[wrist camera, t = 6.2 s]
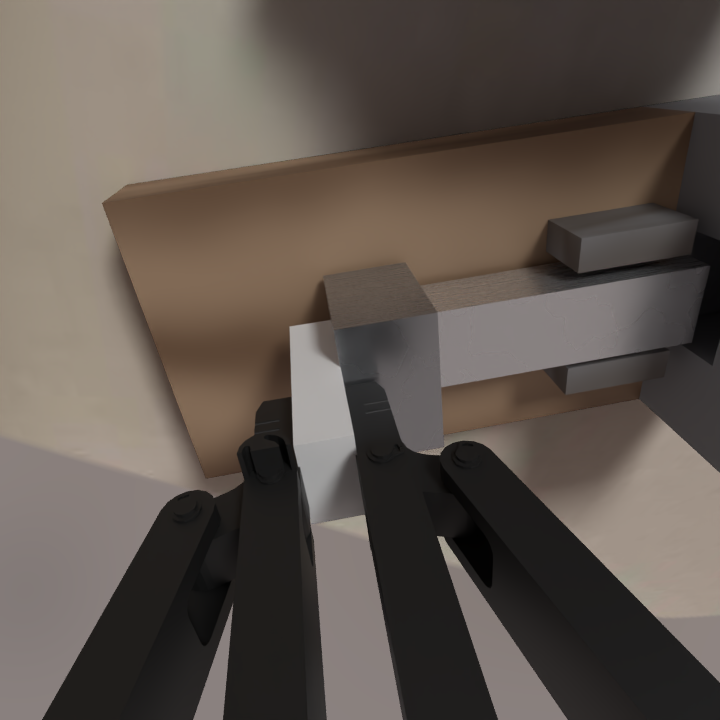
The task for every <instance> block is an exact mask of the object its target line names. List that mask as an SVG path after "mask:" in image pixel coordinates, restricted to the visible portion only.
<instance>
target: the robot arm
mask: <svg viewBox="0 0 720 720" xmlns="http://www.w3.org/2000/svg"><path fill="white" fill-rule="evenodd" d="M290 358H291V389H292V397H286V398H280V399H275V400H269V401H263V402H262V404H261V405H260V407H259V408H258V410H257V411H256V415H255V428H254V436H252V437H250V438H249V439H247V440H245V441H244V442H243V443H242V444H241V445H240V446H239V449H238V451H237V457H238V460H239V464H240V467H241V470H242V473H243V476H244V482H243V483H242V484H240V485H239V486H238V487H236V488H235V489H233V490H231V491H229V492H227V493H225V494H223V495H220V496H218V497H216V498H213V496H212V495H211V494H209V493H208V492H206V491H200V490H194V491H188V492H185V493H182V494H180V495H178V496H176V497H174V498H173V499H172V500H170V501H169V502H167V504H166V505H165V506H164V507H163V509H162V510H161V511H160V513H159V515H158V516H157V518H156V520H155V522H154V524H153V525H152V527H151V529H150V531H149V532H148V534H147V536H146V538H145V539H144V541H143V543H142V545H141V547H140V548H139V550H138V552H137V554H136V555H135V557H134V559H133V560H132V562H131V564H130V566H129V568H128V569H127V571H126V573H125V575H124V576H123V578H122V580H121V582H120V583H119V585H118V587H117V589H116V590H115V592H114V594H113V596H112V597H111V599H110V602H109V603H108V605H107V606H106V608H105V610H104V612H103V613H102V616H101V617H100V619H99V620H98V622H97V624H96V626H95V628H94V629H93V631H92V633H91V635H90V637H89V638H88V640H87V642H86V643H85V645H84V647H83V649H82V651H81V652H80V654H79V656H78V657H77V659H76V661H75V663H74V665H73V666H72V668H71V670H70V672H69V674H68V675H67V677H66V679H65V681H64V682H63V684H62V686H61V687H60V689H59V691H58V693H57V694H56V696H55V698H54V700H53V701H52V703H51V705H50V707H49V709H48V710H47V712H46V714H45V716H44V717H43V719H42V720H193V718H194V715H195V712H196V710H197V706H198V704H199V701H200V698H201V695H202V692H203V688H204V686H205V683H206V680H207V677H208V674H209V671H210V668H211V666H212V663H213V660H214V657H215V654H216V651H217V648H218V645H219V642H220V639H221V636H222V633H223V630H224V627H225V625H226V621H227V619H228V616H229V613H230V610H231V607H232V604H233V613H232V624H231V636H230V648H229V659H228V671H227V681H226V693H225V704H224V715H223V720H327V719H326V705H325V691H324V677H323V663H322V648H321V634H320V620H319V609H318V608H319V606H318V593H317V579H316V565H315V551H314V539H313V535H312V531H311V525H310V519H311V524H316V523H321V522H327V521H332V520H338V519H343V518H348V517H354V516H359V515H365V516H366V522H367V529H368V535H369V542H370V548H371V550H372V556H373V561H374V566H375V572H376V577H377V582H378V588H379V593H380V599H381V604H382V610H383V615H384V620H385V626H386V631H387V636H388V642H389V647H390V653H391V658H392V663H393V669H394V674H395V680H396V685H397V690H398V695H399V701H400V707H401V712H402V717H403V720H498V718H497V715H496V712H495V709H494V706H493V703H492V701H491V697H490V694H489V691H488V688H487V685H486V682H485V679H484V676H483V673H482V670H481V667H480V664H479V661H478V658H477V655H476V653H475V649H474V646H473V643H472V640H471V637H470V634H469V631H468V628H467V625H466V622H465V619H464V616H463V613H462V611H461V607H460V605H459V601H458V598H457V595H456V593H455V589H454V586H453V583H452V580H451V577H450V574H449V571H448V568H447V565H446V562H445V559H444V556H443V553H442V550H441V547H440V544H439V541H438V538H437V536H443V537H444V538H445V540H446V542H447V544H448V545H449V547H450V548H451V550H452V551H453V553H454V554H455V555H456V557H457V558H458V560H459V561H460V563H461V564H462V566H463V567H464V569H465V570H466V572H467V573H468V574H469V576H470V577H471V579H472V580H473V582H474V583H475V585H476V586H477V588H478V589H479V591H480V592H481V594H482V595H483V596H484V598H485V599H486V601H487V602H488V603H489V605H490V607H491V608H492V610H493V611H494V612H495V614H496V615H497V617H498V618H499V620H500V621H501V623H502V624H503V626H504V627H505V629H506V630H507V631H508V633H509V634H510V636H511V637H512V639H513V640H514V642H515V643H516V645H517V646H518V647H519V649H520V650H521V652H522V653H523V655H524V656H525V658H526V659H527V661H528V662H529V664H530V665H531V667H532V668H533V670H534V671H535V672H536V674H537V675H538V677H539V678H540V680H541V681H542V683H543V684H544V686H545V687H546V689H547V690H548V691H549V693H550V694H551V696H552V697H553V699H554V700H555V702H556V703H557V704H558V706H559V707H560V709H561V710H562V712H563V713H564V715H565V716H566V718H567V719H568V720H720V683H719V681H717V680H716V678H715V677H714V676H713V675H712V674H711V673H710V672H709V671H708V670H707V669H706V668H705V667H704V666H703V665H702V664H701V663H700V662H699V661H698V660H697V659H696V658H695V657H694V656H693V655H692V654H691V653H690V652H689V651H688V650H687V649H686V648H685V647H684V646H683V645H682V644H681V643H680V642H679V641H678V640H677V639H676V638H675V637H674V636H673V635H672V634H671V633H670V632H669V631H668V630H667V629H666V628H665V627H664V626H663V625H662V624H661V622H660V621H659V620H658V619H657V618H656V617H655V616H654V615H653V614H652V613H651V612H650V611H649V610H648V609H647V608H646V607H645V606H644V605H643V604H642V603H641V602H640V601H639V600H638V599H637V598H636V597H635V596H634V595H633V594H632V593H631V592H630V591H629V590H628V589H627V588H626V587H625V586H624V585H623V584H622V583H621V582H620V581H619V580H618V579H617V578H616V577H615V576H614V575H613V574H612V573H611V572H610V571H609V570H608V569H607V568H606V567H605V566H604V565H603V563H602V562H601V561H600V560H599V559H598V558H597V557H596V556H595V555H594V554H593V553H592V552H591V551H590V550H589V549H588V548H587V547H586V546H585V545H584V544H583V543H582V542H581V541H580V540H579V539H578V538H577V537H576V536H575V535H574V534H573V533H572V532H571V531H570V530H569V529H568V528H567V527H566V526H565V525H564V524H563V523H562V522H561V521H560V520H559V519H558V518H557V517H556V516H555V515H554V514H553V513H552V512H551V511H550V510H549V509H548V508H547V507H546V506H545V504H544V503H543V502H542V501H541V500H540V499H539V498H538V497H537V496H536V495H535V494H534V493H533V492H532V491H531V490H530V489H529V488H528V487H527V486H526V485H525V484H524V483H523V482H522V481H521V480H520V479H519V478H518V477H517V476H516V475H515V474H514V473H513V472H512V471H511V470H510V469H509V468H508V467H507V466H506V465H505V464H504V463H503V462H502V461H501V460H500V459H499V458H498V457H497V456H496V455H495V454H494V453H493V452H492V451H491V450H490V449H489V448H488V447H486V446H485V445H483V444H480V443H477V442H474V441H460V442H455V443H452V444H450V445H448V446H447V447H445V448H444V450H443V451H442V452H441V455H426V454H420V453H417V452H414V451H412V450H410V449H409V448H407V447H406V445H405V444H404V443H403V442H402V440H401V438H400V435H399V432H398V429H397V426H396V423H395V420H394V416H393V413H392V410H391V407H390V404H389V401H388V398H387V395H386V392H385V389H384V388H383V387H381V386H380V385H379V384H378V383H377V382H375V381H374V382H368V383H362V384H356V385H350V386H344V382H343V377H342V372H341V367H340V365H339V360H338V355H337V350H336V344H335V339H334V334H333V329H332V324H331V320H327V321H321V322H315V323H309V324H302V325H296V326H290ZM233 601H234V602H233Z"/></svg>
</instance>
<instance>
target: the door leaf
mask: <svg viewBox="0 0 720 720" xmlns="http://www.w3.org/2000/svg"><path fill="white" fill-rule="evenodd" d="M694 116H695V112H690V111H680V110H670V109H660V108H650V107H636V108H629V109H623V110H616V111H610V112H603V113H596V114H590V115H583V116H577V117H570V118H564V119H557V120H550V121H544V122H537V123H531V124H524V125H518V126H511V127H504V128H498V129H491V130H485V131H478V132H472V133H465V134H458V135H452V136H445V137H439V138H432V139H426V140H419V141H412V142H406V143H399V144H393V145H386V146H380V147H373V148H366V149H360V150H353V151H347V152H340V153H334V154H327V155H320V156H314V157H307V158H301V159H294V160H287V161H281V162H274V163H268V164H261V165H255V166H248V167H241V168H235V169H228V170H222V171H215V172H209V173H202V174H195V175H189V176H182V177H176V178H169V179H163V180H156V181H149V182H143V183H136V184H130V185H126V186H125V187H123V188H122V189H121V190H119V191H118V192H117V193H115V194H114V195H113V196H111V197H110V198H108V199H107V200H106V201H104V202H103V203H102V204H103V207H104V210H105V212H106V215H107V218H108V220H109V223H110V226H111V228H112V231H113V234H114V236H115V239H116V241H117V244H118V247H119V249H120V252H121V255H122V257H123V260H124V263H125V265H126V268H127V271H128V273H129V276H130V279H131V281H132V284H133V287H134V289H135V292H136V295H137V297H138V300H139V302H140V305H141V308H142V310H143V313H144V316H145V318H146V321H147V324H148V326H149V329H150V332H151V334H152V337H153V340H154V342H155V345H156V348H157V350H158V353H159V356H160V358H161V361H162V363H163V366H164V369H165V371H166V374H167V377H168V379H169V382H170V385H171V387H172V390H173V393H174V395H175V398H176V401H177V403H178V406H179V409H180V411H181V414H182V416H183V419H184V422H185V424H186V427H187V430H188V432H189V435H190V438H191V440H192V443H193V446H194V448H195V451H196V454H197V456H198V459H199V462H200V464H201V467H202V470H203V472H204V475H205V477H206V478H212V477H217V476H222V475H228V474H233V473H239V472H242V470H241V467H240V464H239V460H238V457H237V451H238V449H239V446H240V445H241V444H242V443H243V442H244V441H245V440H247V439H249V438H250V437H252V436H254V428H255V415H256V411H257V410H258V408H259V407H260V405H261V404H262V402H263V401H269V400H275V399H280V398H286V397H292V389H291V358H290V326H296V325H302V324H309V323H315V322H321V321H327V320H330V315H329V309H328V303H327V297H326V291H325V285H324V279H323V276H324V275H330V274H336V273H342V272H348V271H354V270H360V269H366V268H372V267H379V266H385V265H391V264H397V263H403V262H405V263H406V264H407V266H408V267H409V269H410V270H411V272H412V273H413V275H414V277H415V278H416V280H417V281H418V283H419V284H420V286H421V285H427V284H433V283H439V282H445V281H451V280H457V279H463V278H469V277H475V276H481V275H487V274H493V273H499V272H504V271H510V270H516V269H522V268H528V267H534V266H540V265H546V264H552V263H558V262H562V263H564V264H565V265H567V266H568V267H570V268H571V269H573V270H574V271H575V272H577V273H583V272H589V271H595V270H601V269H607V268H613V267H619V266H624V265H630V264H636V263H642V262H648V261H654V260H660V259H666V258H672V257H678V256H683V255H689V254H691V252H692V248H693V243H694V239H695V234H696V230H697V225H698V221H699V219H697V218H694V217H692V216H689V215H686V214H683V213H680V212H678V211H676V208H677V203H678V198H679V193H680V188H681V183H682V178H683V173H684V167H685V162H686V157H687V152H688V147H689V142H690V137H691V132H692V127H693V121H694ZM669 352H670V350H668V349H667V348H666V347H664V348H658V349H653V350H647V351H642V352H636V353H630V354H625V355H619V356H614V357H608V358H603V359H597V360H591V361H586V362H580V363H575V364H569V365H563V366H558V367H552V368H547V369H541V370H536V371H530V372H524V373H519V374H513V375H508V376H502V377H496V378H491V379H485V380H480V381H474V382H469V383H463V384H457V385H452V386H446V387H441V393H442V414H443V435H445V434H450V433H456V432H461V431H467V430H472V429H477V428H483V427H488V426H494V425H499V424H505V423H510V422H515V421H521V420H526V419H532V418H537V417H542V416H548V415H553V414H559V413H564V412H570V411H575V410H580V409H586V408H591V407H597V406H602V405H608V404H613V403H618V402H624V401H629V400H635V399H639V397H640V392H641V387H642V382H643V381H645V380H651V379H656V378H662V377H664V375H665V370H666V366H667V361H668V357H669Z"/></svg>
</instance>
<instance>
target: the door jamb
mask: <svg viewBox="0 0 720 720" xmlns="http://www.w3.org/2000/svg"><path fill="white" fill-rule="evenodd" d="M642 107H650V108H660V109H670V110H680V111H690V112H695V116H694V121H693V127H692V132H691V137H690V142H689V147H688V152H687V157H686V162H685V167H684V173H683V178H682V183H681V188H680V193H679V198H678V203H677V208H676V211H678V212H680V213H683V214H686V215H689V216H692V217H694V218H697V219H699V221H698V225H697V230H696V234H695V239H694V243H693V248H692V252H691V254H689V255H688V256H691V257H693V258H695V259H697V260H699V261H702V262H704V263H706V264H708V265H710V270H709V274H708V278H707V282H706V286H705V290H704V294H703V299H702V303H701V307H700V311H699V315H698V319H697V323H696V327H695V331H694V335H693V340H692V343H686V344H681V345H675V346H669V347H666V348H667V349H668V350H670V352H669V357H668V361H667V366H666V370H665V375H664V377H662V378H656V379H651V380H645V381H643V382H642V387H641V392H640V397H639V399H640V400H641V401H642V402H643V403H644V404H646V405H647V406H648V407H649V408H650V409H651V410H652V411H653V412H654V413H655V414H656V415H658V416H659V417H660V418H661V419H662V420H663V421H664V422H665V423H666V424H667V425H668V426H669V427H671V428H672V429H673V430H674V431H675V432H676V433H677V434H678V435H679V436H680V437H681V438H683V439H684V440H685V441H686V442H687V443H688V444H689V445H690V446H691V447H692V448H693V449H695V450H696V451H697V452H698V453H699V454H700V455H701V456H702V457H703V458H704V459H705V460H707V461H708V462H709V463H710V464H711V465H712V466H713V467H714V468H715V469H716V470H717V471H718V472H720V95H715V96H708V97H702V98H695V99H688V100H682V101H675V102H669V103H662V104H656V105H649V106H642Z"/></svg>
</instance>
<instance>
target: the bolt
mask: <svg viewBox="0 0 720 720" xmlns="http://www.w3.org/2000/svg"><path fill="white" fill-rule="evenodd" d="M709 270H710V265H708V264H706V263H704V262H702V261H699V260H697V259H695V258H693V257H691V256H688V255H683V256H678V257H672V258H666V259H660V260H654V261H648V262H642V263H636V264H630V265H624V266H619V267H613V268H607V269H601V270H595V271H589V272H583V273H577V272H575V271H574V270H573V269H571V268H570V267H568V266H567V265H565V264H564V263H562V262H558V263H552V264H546V265H540V266H534V267H528V268H522V269H516V270H510V271H504V272H499V273H493V274H487V275H481V276H475V277H469V278H463V279H457V280H451V281H445V282H439V283H433V284H427V285H421V286H420V284H419V283H418V281H417V280H416V278H415V277H414V275H413V273H412V272H411V270H410V269H409V267H408V266H407V264H406V263H405V262H403V263H397V264H391V265H385V266H379V267H372V268H366V269H360V270H354V271H348V272H342V273H336V274H330V275H324V276H323V279H324V285H325V291H326V297H327V303H328V309H329V315H330V320H331V324H332V329H333V334H334V339H335V344H336V350H337V355H338V360H339V365H340V367H341V372H342V377H343V382H344V386H350V385H356V384H362V383H368V382H374V381H375V382H377V383H378V384H379V385H380V386H381V387H383V388H384V389H385V392H386V395H387V398H388V401H389V404H390V407H391V410H392V413H393V416H394V420H395V423H396V426H397V429H398V432H399V435H400V438H401V440H402V442H403V443H404V444H405V445H406V447H407V448H409V449H410V450H412V451H414V452H419V451H424V450H430V449H435V448H440V447H444V435H443V414H442V393H441V387H446V386H452V385H457V384H463V383H469V382H474V381H480V380H485V379H491V378H496V377H502V376H508V375H513V374H519V373H524V372H530V371H536V370H541V369H547V368H552V367H558V366H563V365H569V364H575V363H580V362H586V361H591V360H597V359H603V358H608V357H614V356H619V355H625V354H630V353H636V352H642V351H647V350H653V349H658V348H664V347H669V346H675V345H681V344H686V343H692V340H693V335H694V331H695V327H696V323H697V319H698V315H699V311H700V307H701V303H702V299H703V294H704V290H705V286H706V282H707V278H708V274H709Z"/></svg>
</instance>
